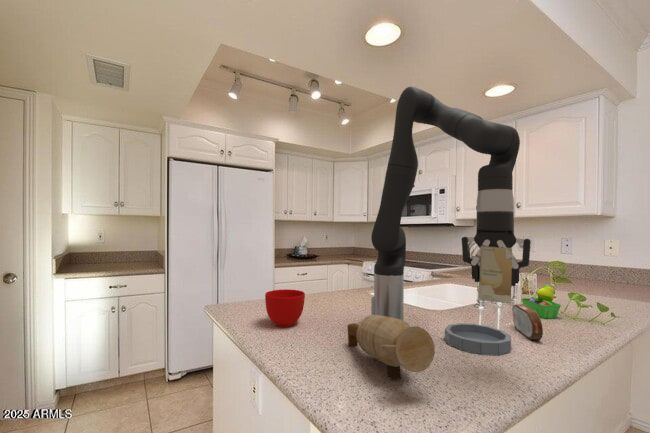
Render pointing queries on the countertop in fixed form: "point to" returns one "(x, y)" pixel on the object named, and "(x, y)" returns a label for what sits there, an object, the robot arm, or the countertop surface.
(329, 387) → the countertop surface
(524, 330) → the tin
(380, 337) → the wooden log toy
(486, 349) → the round dish
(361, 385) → the countertop surface
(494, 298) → the skincare box
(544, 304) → the fruit basket
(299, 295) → the ceramic cup
